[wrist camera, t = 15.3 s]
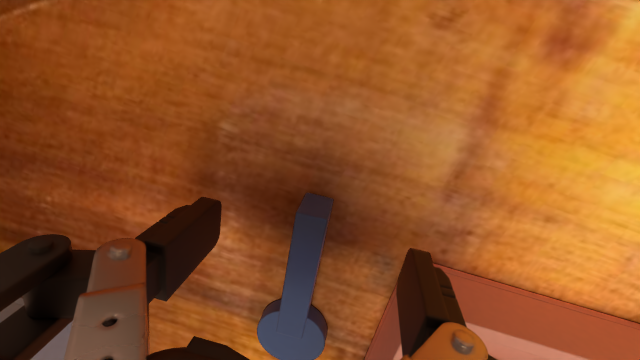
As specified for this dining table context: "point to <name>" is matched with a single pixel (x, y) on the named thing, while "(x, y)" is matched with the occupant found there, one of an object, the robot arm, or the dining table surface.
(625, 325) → the rose bin
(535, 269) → the dining table surface
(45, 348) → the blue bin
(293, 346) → the blue spoon
